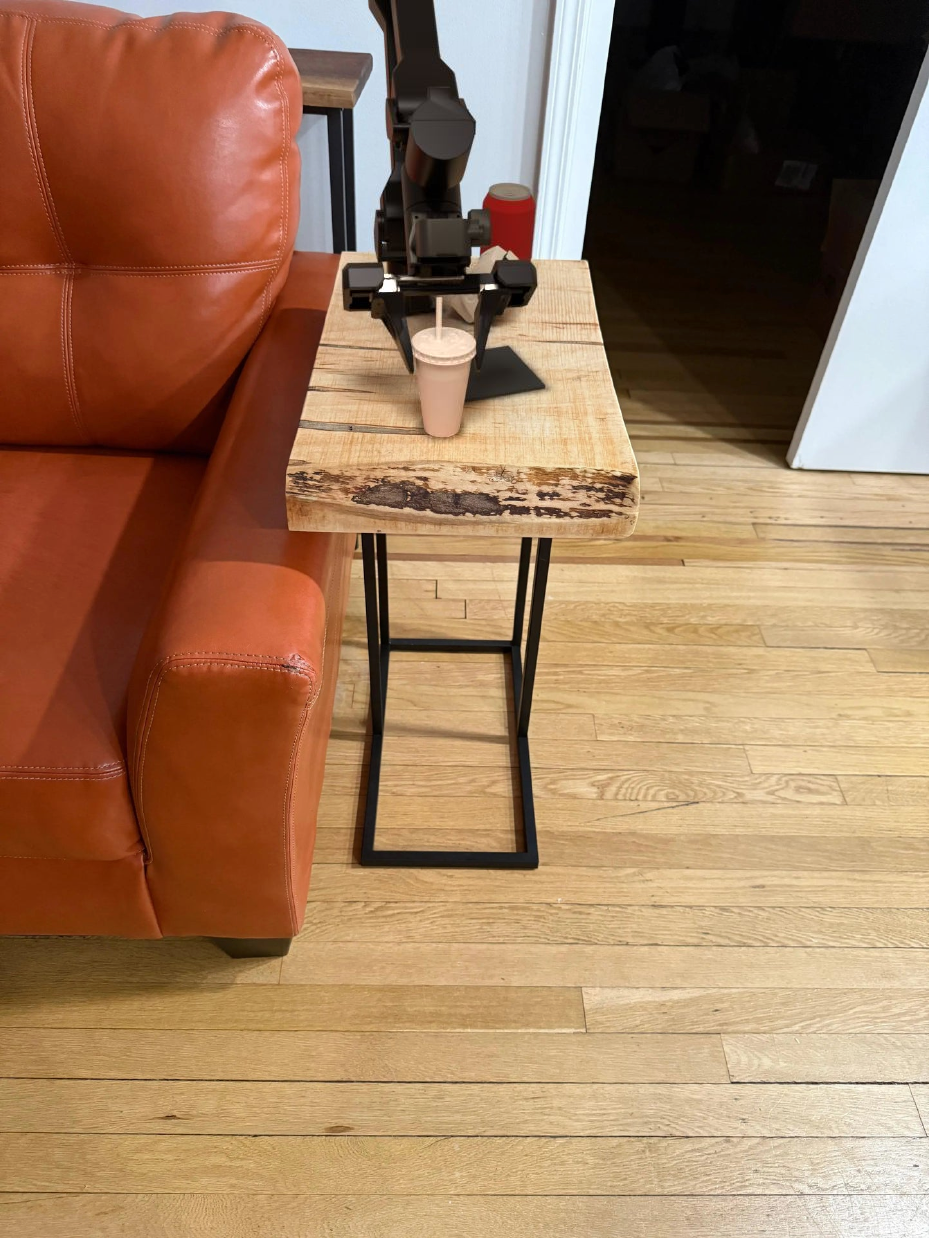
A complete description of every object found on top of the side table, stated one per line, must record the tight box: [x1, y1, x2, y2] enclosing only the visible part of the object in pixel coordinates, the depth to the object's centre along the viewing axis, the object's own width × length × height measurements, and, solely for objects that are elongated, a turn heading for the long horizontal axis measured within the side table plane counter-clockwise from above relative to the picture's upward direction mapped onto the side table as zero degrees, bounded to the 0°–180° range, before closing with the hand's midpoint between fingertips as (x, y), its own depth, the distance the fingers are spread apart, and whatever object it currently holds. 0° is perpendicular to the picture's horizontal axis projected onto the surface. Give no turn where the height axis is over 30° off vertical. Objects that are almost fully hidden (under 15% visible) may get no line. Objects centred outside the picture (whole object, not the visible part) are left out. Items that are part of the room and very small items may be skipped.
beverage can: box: [479, 182, 537, 262], centre depth 119 cm, size 7×7×12 cm
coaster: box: [464, 345, 546, 403], centre depth 104 cm, size 10×10×1 cm
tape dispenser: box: [449, 246, 519, 324], centre depth 112 cm, size 6×7×10 cm
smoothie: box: [411, 296, 476, 438], centre depth 91 cm, size 6×6×14 cm
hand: (444, 372), depth 90 cm, fingers closed on smoothie, 6 cm apart
